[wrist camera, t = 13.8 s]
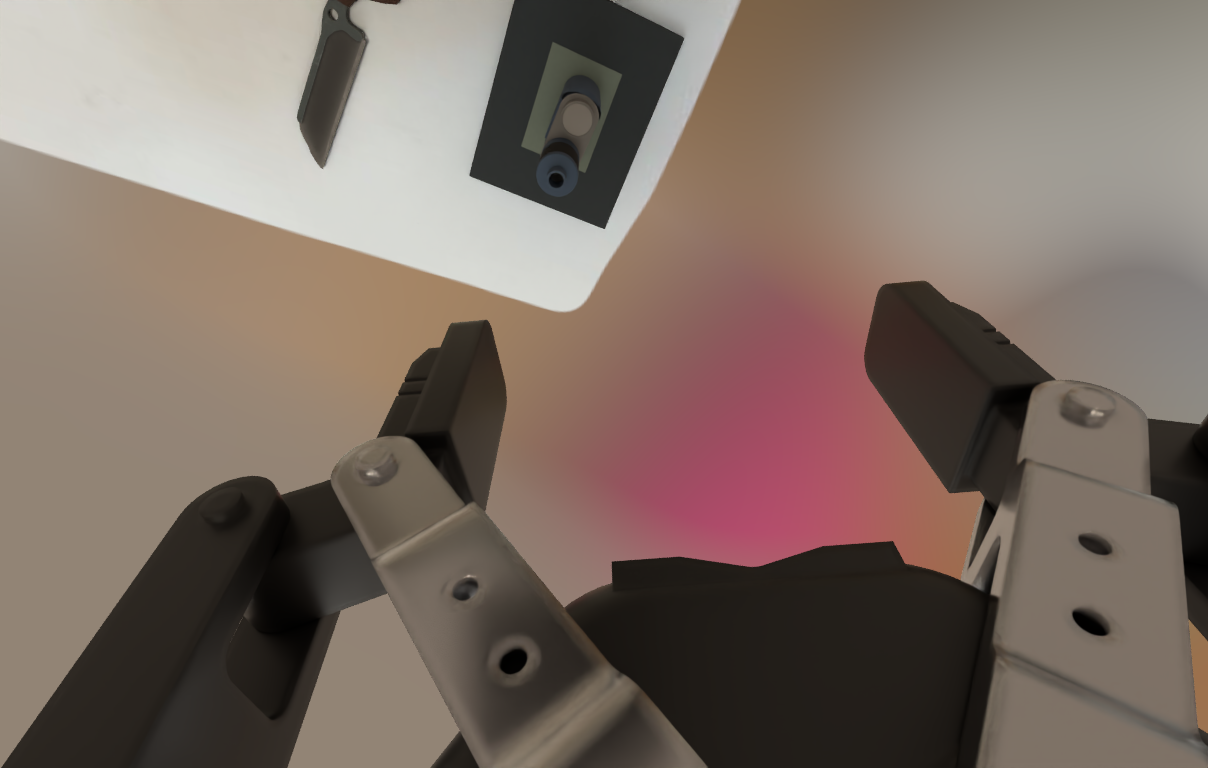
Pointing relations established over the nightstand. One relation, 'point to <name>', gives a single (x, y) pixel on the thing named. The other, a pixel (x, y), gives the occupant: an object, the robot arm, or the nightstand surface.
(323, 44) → the knife
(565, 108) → the vaping device
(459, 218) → the nightstand surface
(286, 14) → the nightstand surface
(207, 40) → the nightstand surface
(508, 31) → the mat
